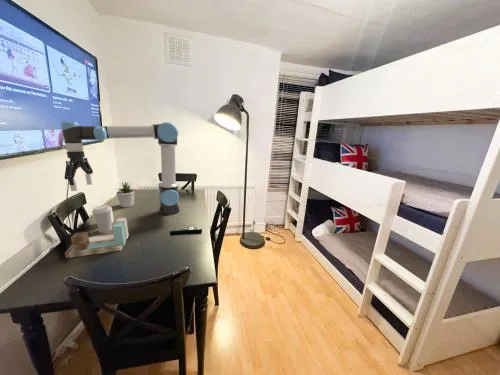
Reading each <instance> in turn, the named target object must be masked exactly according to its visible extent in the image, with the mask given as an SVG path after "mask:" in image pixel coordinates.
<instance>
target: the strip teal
mask: <svg viewBox="0 0 500 375" xmlns="http://www.w3.org/2000/svg"><path fill="white" fill-rule="evenodd" d="M112 234H114V240H115V241H110V242H102V243H94V244H89V246H88V247H87V248H86V249H83V250H90V249H97V248H105V247H112V246H120V245H121V246H123V247H125V245H126V243H127V239H125V232H124V226H123V223H117V224H116V223H113V225H112ZM75 251H82V250H75ZM75 251H74V249H73V248H72V250H71V251H70V252H75Z"/></svg>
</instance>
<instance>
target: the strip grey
mask: <svg viewBox="0 0 500 375" xmlns="http://www.w3.org/2000/svg"><path fill="white" fill-rule="evenodd" d="M117 223H123V226H124V232H125V239H126V240H128V238H129V235H130V234H129V229H128V228H129V227H128V221H127V217H118V218H117V219H116V221H115V224H117ZM109 235H110V234H109ZM100 236H101V235H100ZM108 240H114V235H110V236H101V237H93V238H89V243H92V242H100V241H108Z"/></svg>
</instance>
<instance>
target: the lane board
mask: <svg viewBox="0 0 500 375" xmlns="http://www.w3.org/2000/svg"><path fill="white" fill-rule="evenodd" d="M110 235H114V234H113V233H112V234H103V235H102V234H101V235H93V236H88V238H93V237H101V236H110ZM110 241H115V240H108V241H100V242H92V243H90V244H94V243H102V242H110ZM72 248H73V245H72V244H71V246H70V247H68V249H67V250H66V251H65V252H64V256H65V259H68V258H75V257H83V256H88V255H89V256H90V255H91V256H92V255H97V254H104V253H111V252H113V253H114V252H118V251H119V252H120V251H122V250H123V248H124V246H121V245H120V246H112V247H105V248H97V249H90V250H82V251H75V252H70V251H71V250H72Z"/></svg>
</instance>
